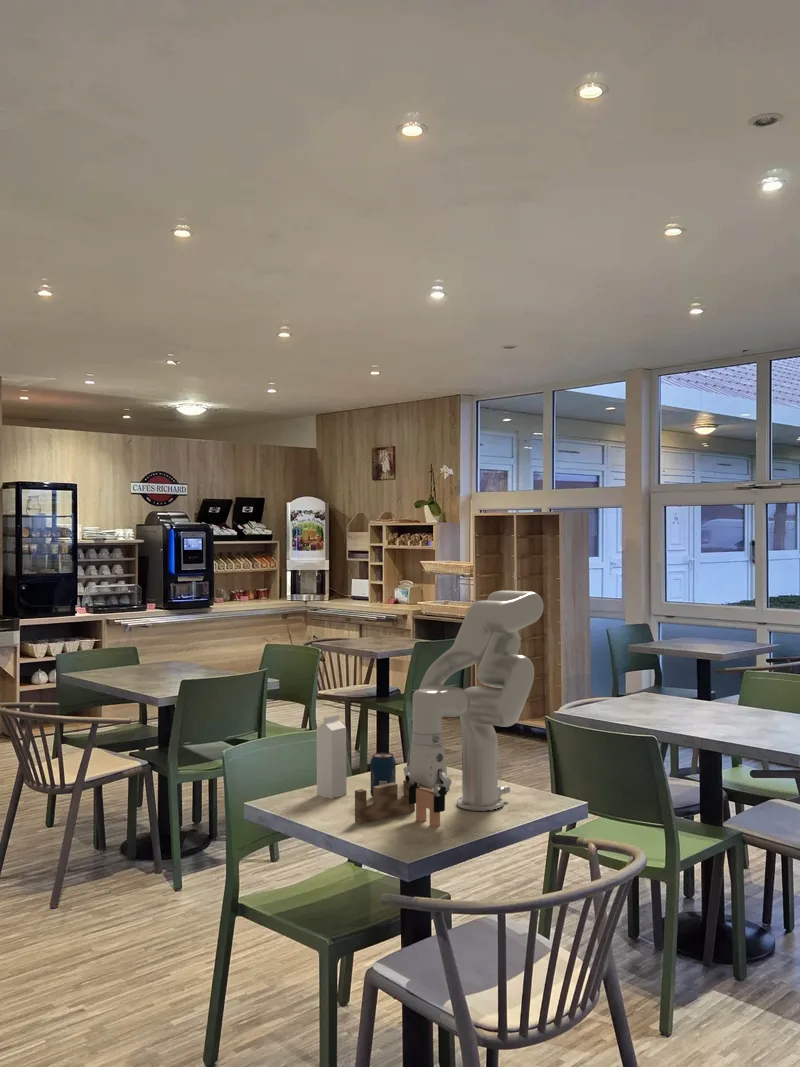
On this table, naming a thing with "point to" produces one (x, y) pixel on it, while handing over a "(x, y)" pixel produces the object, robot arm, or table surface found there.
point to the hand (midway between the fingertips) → (426, 807)
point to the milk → (331, 758)
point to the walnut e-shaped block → (382, 803)
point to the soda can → (382, 769)
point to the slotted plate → (426, 806)
